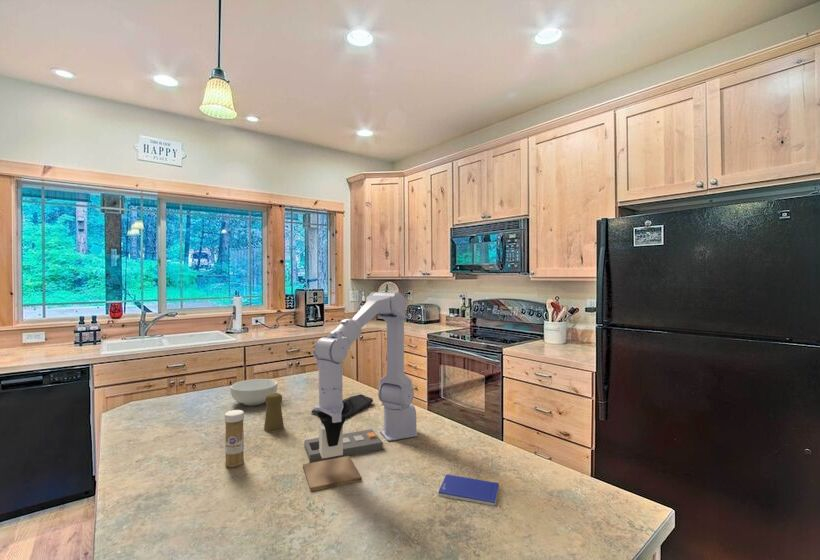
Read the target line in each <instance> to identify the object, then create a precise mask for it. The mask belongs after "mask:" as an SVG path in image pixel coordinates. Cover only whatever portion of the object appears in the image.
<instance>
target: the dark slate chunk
mask: <svg viewBox="0 0 820 560" xmlns="http://www.w3.org/2000/svg"><path fill="white" fill-rule="evenodd" d="M373 402H374V399H373V398H372V397H369V396H366V395H365V394H364V395H363V394H356V395H352V396H348V397H347V398H345V399H343V409H342V412H341V416H345V417H346V419H348V418H349V417H352V416H354V415H355V414H357V413H358V412H360V411H362V410H363V409H366V408H367V407H368V406H369V405H370V404H372V403H373ZM310 414H311V415H312V416H315V417H318V418H319V419H320V417H319V415H318V413H317V410H314V408H313V409H312V410H311V413H310Z"/></svg>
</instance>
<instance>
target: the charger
mask: <svg viewBox="0 0 820 560" xmlns="http://www.w3.org/2000/svg"><path fill="white" fill-rule="evenodd" d="M343 426H344V425H343ZM343 426H342V429H341V432H340V436H339V441H338V445H337V446H331V447H329V445H328V442H327V436H326V430H325V427H324V424H323V423H321V422H320V423H319V424H318V438H319V448H318V449H319V452H320V455H321V457H322V459H323V458H328V457H334V456H339V455H343V434H344V431H343V430H344V429H343Z"/></svg>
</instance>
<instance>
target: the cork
mask: <svg viewBox="0 0 820 560" xmlns="http://www.w3.org/2000/svg"><path fill="white" fill-rule="evenodd" d="M264 403H265V405H266V411H265V419H264V426H263V431H264V432H267V433H274V432H275V433H276V432H279V431H282V430H283V429H285V425H284V418H283V413H282V405H281V404H282V403H283V396H282V394H281V393H280V392H276V393H271V394H268V395H267V396H266V398H265V402H264Z"/></svg>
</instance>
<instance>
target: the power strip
mask: <svg viewBox="0 0 820 560" xmlns="http://www.w3.org/2000/svg"><path fill="white" fill-rule="evenodd" d="M383 449H384V444H383V441H382V439H381V438H380V437H379V436H378V434H377V433H376V432H375V431H374V430H373V429H366V430H361V431H360V430H359V431H353V432H347V433H343V455H339V456H334V457H328V458H323V459H322V457H321V455H320V452H319V437H316V438H309V439H304V451H305V453H306V456H307V459H308V463H313V462H319V461H324V460H330V459H335V458H340V457H346V456H353V455H359V454H364V453H370V452H375V451H381V450H383Z"/></svg>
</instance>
